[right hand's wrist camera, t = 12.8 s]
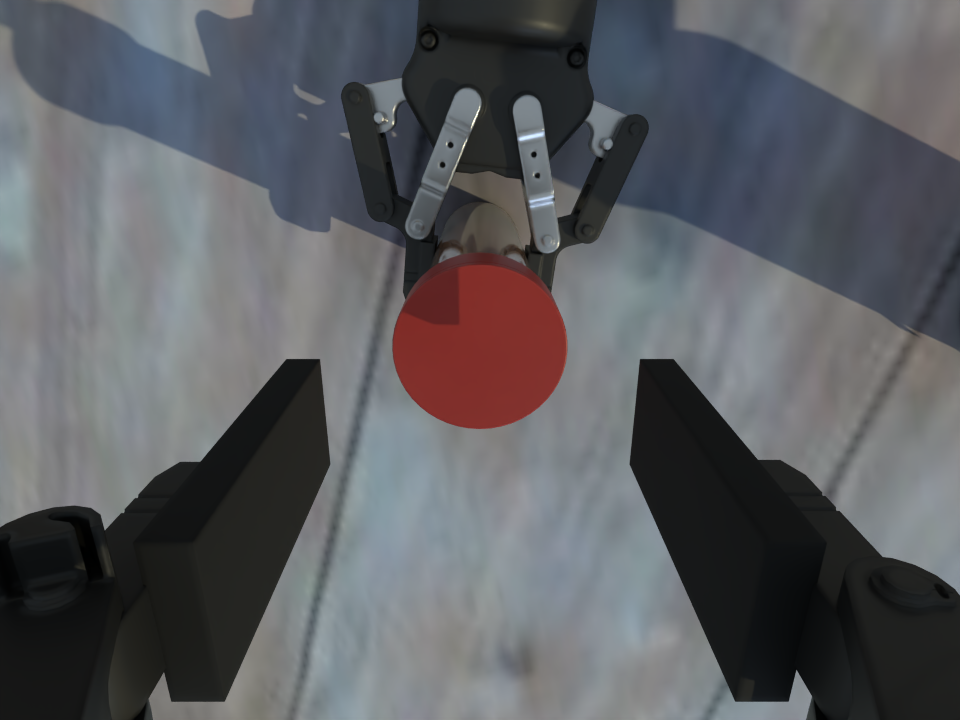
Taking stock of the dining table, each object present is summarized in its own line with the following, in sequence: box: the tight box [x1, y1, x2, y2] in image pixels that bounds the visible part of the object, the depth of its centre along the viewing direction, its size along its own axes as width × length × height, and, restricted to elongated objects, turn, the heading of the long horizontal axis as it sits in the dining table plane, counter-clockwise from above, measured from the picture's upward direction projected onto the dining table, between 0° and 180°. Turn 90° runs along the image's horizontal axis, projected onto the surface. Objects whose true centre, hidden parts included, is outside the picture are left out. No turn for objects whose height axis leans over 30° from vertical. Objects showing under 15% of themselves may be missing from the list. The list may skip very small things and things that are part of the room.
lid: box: [392, 252, 567, 429], centre depth 19 cm, size 5×5×2 cm
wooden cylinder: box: [429, 202, 531, 270], centre depth 27 cm, size 4×4×19 cm
